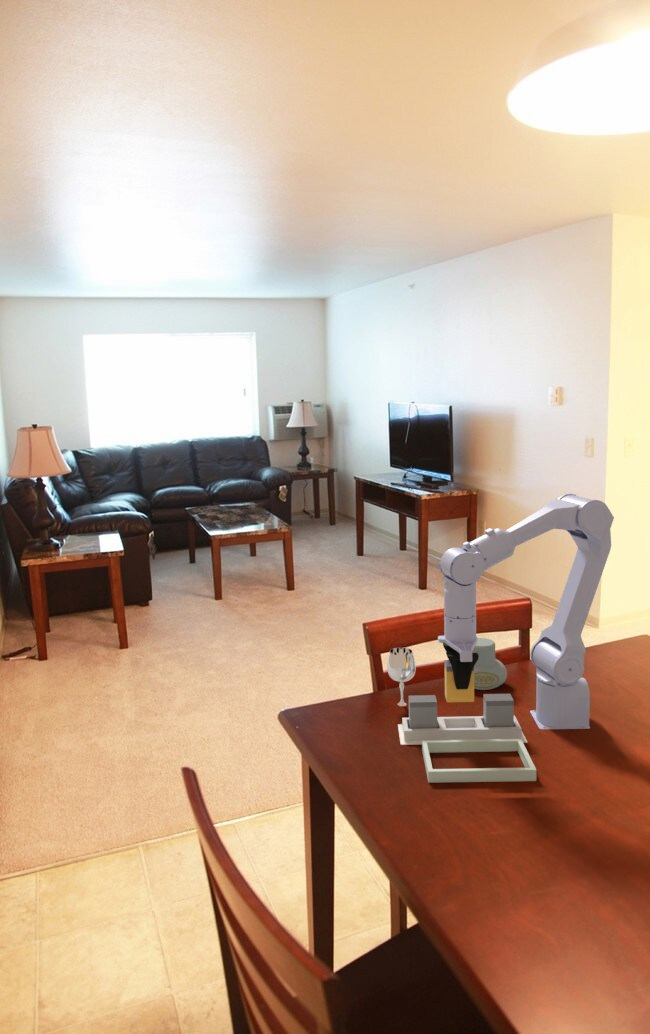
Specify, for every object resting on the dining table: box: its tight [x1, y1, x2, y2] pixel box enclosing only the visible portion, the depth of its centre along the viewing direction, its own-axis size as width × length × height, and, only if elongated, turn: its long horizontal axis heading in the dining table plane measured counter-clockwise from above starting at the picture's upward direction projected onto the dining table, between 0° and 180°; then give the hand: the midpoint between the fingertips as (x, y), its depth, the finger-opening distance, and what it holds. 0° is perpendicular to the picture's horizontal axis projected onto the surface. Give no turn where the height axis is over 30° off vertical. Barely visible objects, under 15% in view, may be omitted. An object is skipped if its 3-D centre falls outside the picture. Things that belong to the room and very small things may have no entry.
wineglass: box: [386, 646, 417, 707], centre depth 146 cm, size 6×6×12 cm
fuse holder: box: [397, 715, 529, 746], centre depth 133 cm, size 23×8×3 cm, turn 88°
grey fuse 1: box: [408, 694, 438, 729], centre depth 133 cm, size 5×3×7 cm, turn 88°
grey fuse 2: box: [482, 693, 515, 727], centre depth 133 cm, size 5×3×7 cm, turn 88°
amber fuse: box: [444, 659, 475, 703], centre depth 132 cm, size 5×3×7 cm, turn 88°
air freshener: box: [472, 637, 508, 691], centre depth 155 cm, size 11×8×10 cm
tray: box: [421, 739, 537, 784], centre depth 122 cm, size 18×11×2 cm, turn 88°
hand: (460, 684), depth 132 cm, fingers closed on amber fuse, 3 cm apart
